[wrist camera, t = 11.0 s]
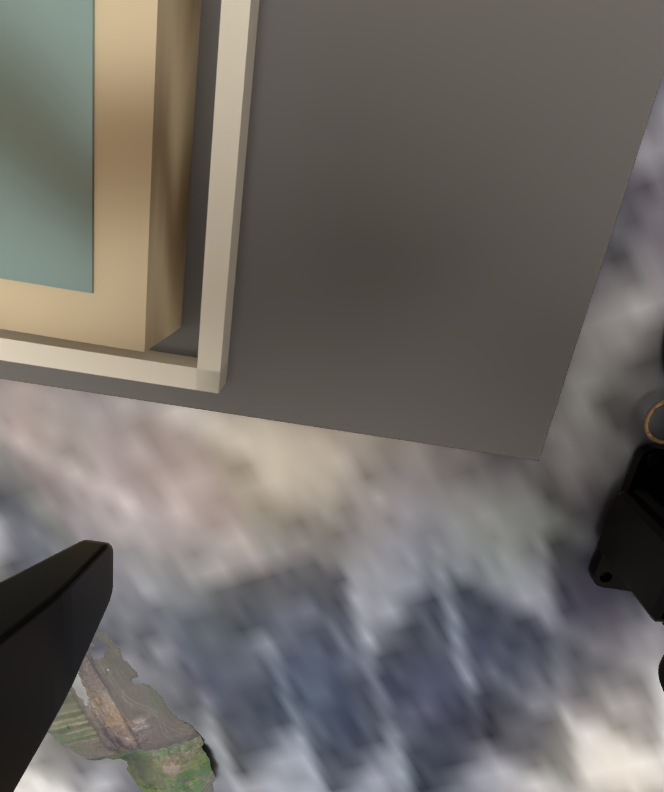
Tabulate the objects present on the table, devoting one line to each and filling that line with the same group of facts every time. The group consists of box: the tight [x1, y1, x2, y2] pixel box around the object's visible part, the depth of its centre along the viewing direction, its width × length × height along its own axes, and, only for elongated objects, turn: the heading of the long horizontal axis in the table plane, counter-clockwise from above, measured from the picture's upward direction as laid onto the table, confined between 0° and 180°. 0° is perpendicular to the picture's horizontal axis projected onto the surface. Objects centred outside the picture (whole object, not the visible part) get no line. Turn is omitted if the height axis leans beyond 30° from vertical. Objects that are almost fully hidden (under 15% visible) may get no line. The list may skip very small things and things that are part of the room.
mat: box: [0, 0, 664, 461], centre depth 15 cm, size 24×22×2 cm
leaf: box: [48, 631, 215, 792], centre depth 25 cm, size 20×8×1 cm, turn 25°
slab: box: [0, 0, 201, 352], centre depth 15 cm, size 10×6×4 cm, turn 171°
